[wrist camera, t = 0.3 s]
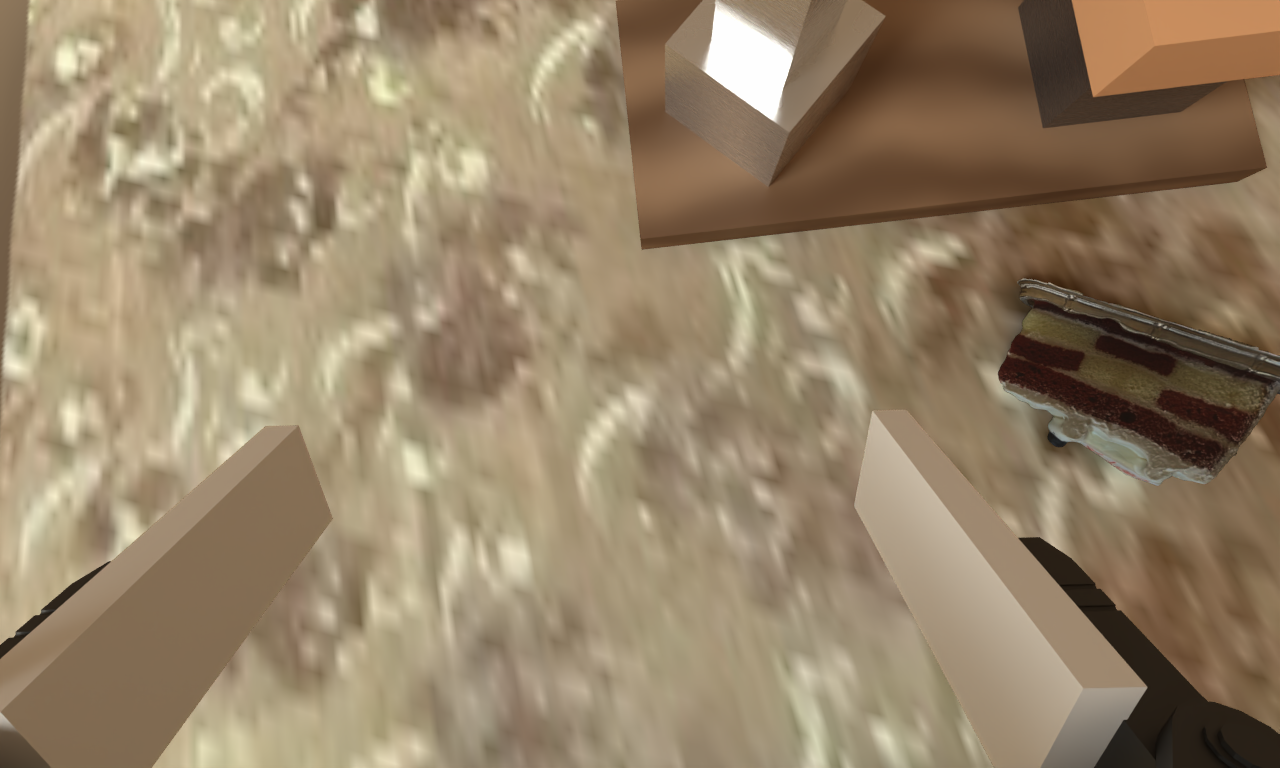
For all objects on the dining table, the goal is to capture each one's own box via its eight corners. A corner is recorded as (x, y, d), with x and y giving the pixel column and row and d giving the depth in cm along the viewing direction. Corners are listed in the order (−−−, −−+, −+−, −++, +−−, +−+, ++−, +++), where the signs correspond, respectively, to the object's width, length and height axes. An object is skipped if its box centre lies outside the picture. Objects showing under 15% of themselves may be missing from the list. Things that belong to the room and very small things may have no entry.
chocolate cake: (936, 392, 29) (1234, 527, 20) (1008, 269, 28) (1364, 354, 19) (1002, 422, 35) (1256, 538, 26) (1064, 321, 34) (1357, 406, 25)
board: (1236, 181, 29) (1267, 167, 28) (641, 249, 30) (640, 238, 29) (1178, -51, 31) (1203, -76, 30) (618, 21, 32) (615, 0, 31)
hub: (848, 89, 29) (956, -124, 19) (768, 186, 29) (829, 27, 18) (745, 17, 30) (789, -227, 19) (665, 111, 30) (664, -85, 19)
